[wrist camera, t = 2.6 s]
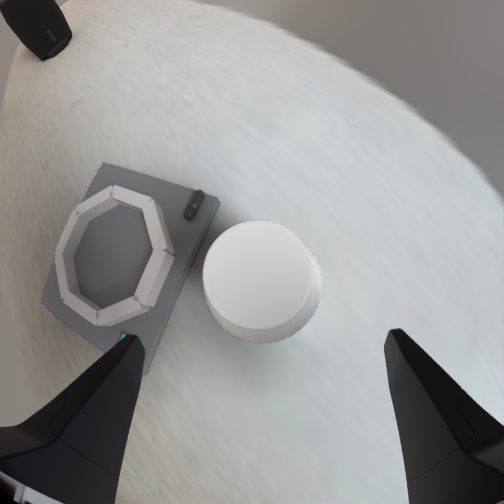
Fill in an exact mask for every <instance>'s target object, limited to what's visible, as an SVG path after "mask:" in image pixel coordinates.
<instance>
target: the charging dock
mask: <svg viewBox="0 0 504 504" xmlns="http://www.w3.org/2000/svg"><path fill="white" fill-rule="evenodd" d="M219 205H220V202H219V200H218V198H217V197H214V196H211V195H208V194H205V193H204V192H203V191H202V190H197V191H196V190H192V189H189V188H186V187H183V186H180V185H177V184H174V183H171V182H167V181H164V180H161V179H158V178H154V177H151V176H148V175H145V174H141V173H138V172H135V171H131V170H128V169H124V168H121V167H118V166H114V165H111V164H107V163H104V162H103V164H102V166H101V167H100V169H99V171H98V173H97V174H96V176H95V178H94V180H93V182H92V183H91V185H90V187H89V189H88V191H87V193H86V195H85V197H84V199H83V201H82V203H81V204H79V205H77V206H76V210H74V209H73V211H72V213H71V215H70V217H69V219H68V222H67V224H66V226H65V228H64V230H63V233H62V235H61V237H60V240H59V242H58V244H57V247H56V249H55V252H57V254H55V255H54V258H55V264H54V266H53V269H52V272H51V274H50V277H49V280H48V283H47V286H46V289H45V292H44V295H43V298H42V301H41V304H43V305H44V306H45V307H46V308H47V309H48V310H50V311H51V312H52V313H53V314H54V315H55V316H57V317H58V318H59V319H60V320H62V321H63V322H64V323H65V324H66V325H68V326H69V327H70V328H72V329H73V330H74V331H75V332H77V333H78V334H79V335H81V336H82V337H83V338H85V339H86V340H87V341H89V342H90V343H91V344H93V345H94V346H96V347H97V348H98V349H100V350H101V351H103V352H104V353H106V352H107V351H108V350H110V349H111V348H112V347H113V346H114V345H115V344H116V343H118V342H119V341H120V340H121V339H122V338H123V337H124V336H126V335H127V334H134V335H137V336H139V338H140V340H141V342H142V344H143V346H144V348H145V360H144V366H143V372H142V376H143V375H146V374H147V373H148V370H149V367H150V365H151V362H152V360H153V357H154V354H155V352H156V349H157V347H158V344H159V342H160V339H161V337H162V334H163V332H164V329H165V327H166V324H167V322H168V319H169V317H170V315H171V312H172V310H173V307H174V305H175V303H176V300H177V298H178V296H179V293H180V291H181V289H182V286H183V284H184V282H185V279H186V277H187V275H188V272H189V270H190V268H191V266H192V263H193V261H194V259H195V257H196V254H197V252H198V250H199V248H200V246H201V243H202V241H203V239H204V237H205V235H206V232H207V230H208V228H209V226H210V224H211V222H212V220H213V217H214V215H215V213H216V211H217V209H218V207H219Z"/></svg>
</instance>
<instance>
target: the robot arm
mask: <svg viewBox="0 0 504 504" xmlns="http://www.w3.org/2000/svg"><path fill="white" fill-rule="evenodd" d="M384 353H385V360H386V367H387V375H388V383H389V389H390V394H391V398H392V402H393V407H394V411H395V416H396V421H397V426H398V431H399V436H400V442H401V447H402V453H403V459H404V465H405V472H406V479H407V488H408V497H409V504H504V426H503V425H502V424H501V423H500V422H498V421H497V420H496V419H495V418H494V417H492V416H491V415H490V414H489V413H488V412H487V411H485V410H484V409H483V408H482V407H481V406H480V405H479V404H477V403H476V402H475V401H474V400H473V399H472V398H471V397H470V396H469V395H468V394H467V393H466V392H465V391H464V390H463V389H462V388H461V387H460V386H459V385H458V384H457V383H456V381H455V380H454V379H453V378H452V377H451V376H450V375H449V374H448V373H447V372H446V371H445V370H444V369H443V368H442V367H441V366H440V365H439V364H437V363H436V362H435V361H434V360H433V359H432V358H431V357H430V356H429V355H428V354H427V353H426V352H425V351H424V350H423V349H422V348H421V347H420V346H419V345H418V344H417V343H416V342H415V341H414V340H413V339H412V338H411V337H410V336H409V335H407V334H406V333H405V332H404V331H403V330H402V329H400V328H397V329H391V330H390V331H389V332H388V335H387V338H386V341H385V344H384ZM144 360H145V348H144V346H143V344H142V342H141V340H140V338H139V336H137V335H134V334H127V335H126V336H124V337H123V338H122V339H121V340H120V341H119V342H118V343H116V344H115V345H114V346H113V347H112V348H111V349H110V350H108V351H107V352H106V353H105V354H104V355H103V356H102V357H100V358H99V359H98V360H97V361H96V362H95V363H94V364H92V365H91V366H90V367H89V368H88V369H87V370H86V371H85V372H83V373H82V374H81V375H80V376H79V377H78V378H77V379H76V380H74V381H73V382H72V383H71V384H70V385H69V386H68V387H67V388H66V389H64V390H63V391H62V392H61V393H60V394H59V395H58V396H56V397H55V398H54V399H53V400H52V401H51V402H49V403H48V404H47V405H45V406H44V407H43V408H42V409H40V410H39V411H37V412H36V413H35V414H33V415H32V416H31V417H29V418H28V419H27V420H25V421H24V422H22V423H21V424H19V425H16V426H11V427H0V504H115V498H116V492H117V487H118V481H119V476H120V471H121V466H122V461H123V456H124V451H125V447H126V443H127V438H128V434H129V430H130V425H131V421H132V417H133V413H134V409H135V405H136V402H137V398H138V394H139V390H140V385H141V379H142V372H143V366H144Z"/></svg>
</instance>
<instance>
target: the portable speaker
mask: <svg viewBox="0 0 504 504" xmlns="http://www.w3.org/2000/svg"><path fill="white" fill-rule="evenodd" d="M0 11H1V13H2V15H3V17H4V19H5V21H6V22H7V24H8V25H9V26H10V28H11V29H12V30H13V31H14V33H15V34H16V35H17V36H18V38H19V39H20V40H21V42H22V43H23V44H24V45H25V46H26V47H27V48H28V49H29V50H30V51H32V52H33V53H34V54H35V55H36V56H37V57H39V58H40V59H41V60H42V61H43V60H44V59H45V58H46V57H48V56H49V57H54V56H56V55H57V54H58V53H60V52H61V51H62V50H63V49H64V48H65V47H66V46H67V45H68V44H69V38H70V37H71V36H72V31H71V29H70V27H69V25H68V23H67V21H66V19H65V17H64V15H63V13H62V11H61V9H60V8H59V6H58V5H57V3H56V2H55V0H0Z"/></svg>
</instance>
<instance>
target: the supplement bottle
mask: <svg viewBox="0 0 504 504" xmlns="http://www.w3.org/2000/svg"><path fill="white" fill-rule="evenodd" d="M202 279H203V286H204V295H205V299H206V302H207V305H208V308H209V310H210V312H211V314H212V316H213V317H214V318H215V320H216V321H217V322H218V323H219V324H220V326H221V327H222V328H224V329H225V330H226V331H227V332H229V333H230V334H232V335H234V336H235V337H238V338H240V339H243V340H246V341H250V342H255V343H271V342H276V341H280V340H283V339H286V338H288V337H290V336H292V335H293V334H295V333H297V332H298V331H299V330H301V329H302V328H303V327H304V326H305V325H306V324H307V323H308V321H309V320H310V319H311V317H312V316H313V314H314V312H315V311H316V309H317V306H318V304H319V301H320V297H321V291H322V276H321V271H320V267H319V264H318V261H317V259H316V257H315V255H314V253H313V252H312V251H311V249H310V248H309V247H308V245H307V244H306V243H305V242H304V241H302V240H301V239H300V238H299V237H298V236H297V235H296V234H295V233H294V232H293V231H291V230H290V229H288V228H287V227H285V226H283V225H281V224H278V223H276V222H272V221H268V220H250V221H245V222H242V223H239V224H236V225H234V226H232V227H230V228H229V229H227V230H226V231H224V232H223V233H222V234H221V235H220V236H219V237H218V238H217V239H216V240H215V241H214V242H213V244H212V245H211V247H210V249H209V250H208V253H207V255H206V257H205V261H204V265H203V273H202Z"/></svg>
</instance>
